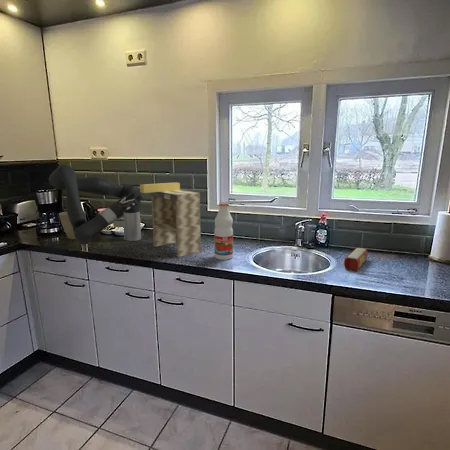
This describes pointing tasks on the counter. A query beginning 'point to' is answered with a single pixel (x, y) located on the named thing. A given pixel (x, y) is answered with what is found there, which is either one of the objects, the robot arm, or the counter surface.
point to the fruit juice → (223, 233)
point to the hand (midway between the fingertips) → (137, 195)
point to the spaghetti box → (159, 187)
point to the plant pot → (67, 225)
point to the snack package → (355, 259)
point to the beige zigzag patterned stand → (177, 220)
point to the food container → (119, 222)
